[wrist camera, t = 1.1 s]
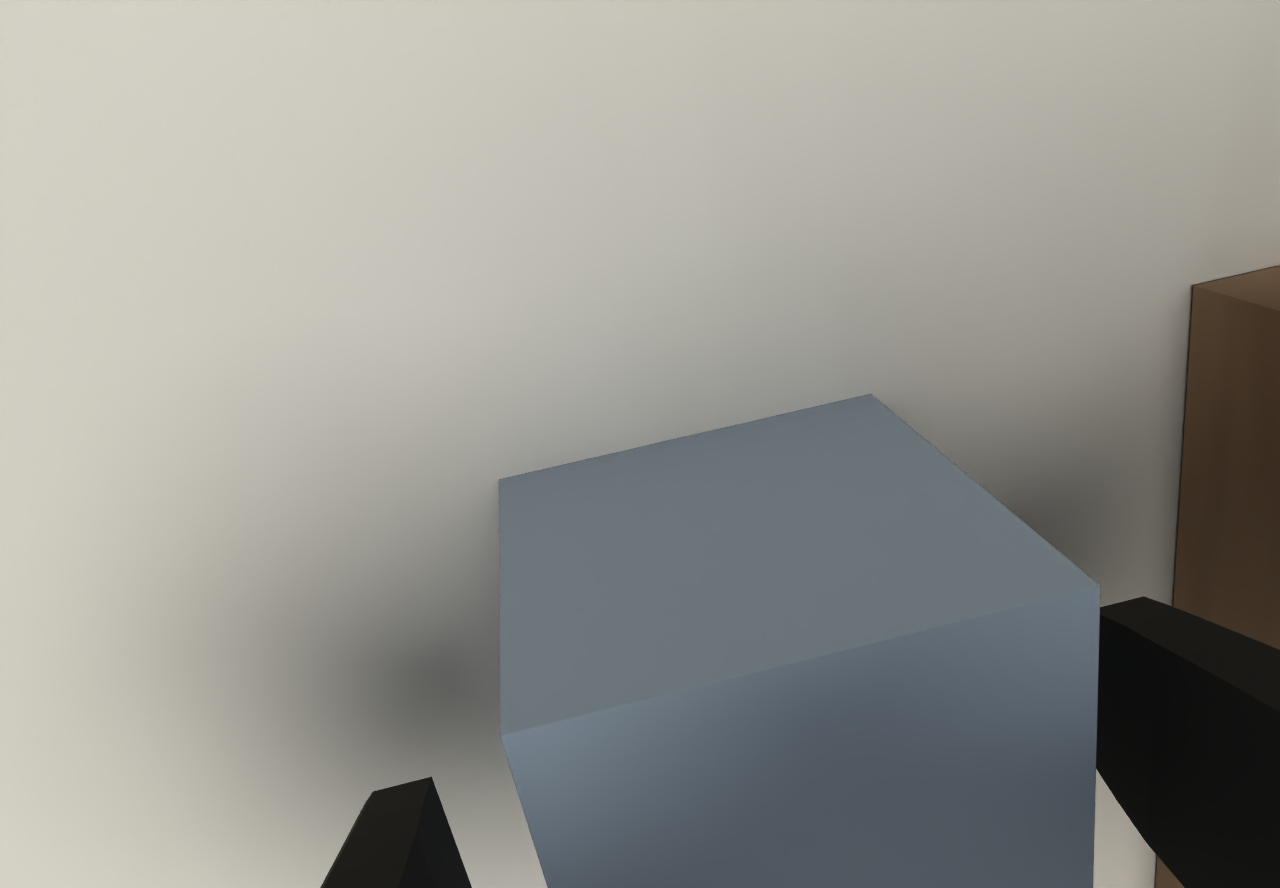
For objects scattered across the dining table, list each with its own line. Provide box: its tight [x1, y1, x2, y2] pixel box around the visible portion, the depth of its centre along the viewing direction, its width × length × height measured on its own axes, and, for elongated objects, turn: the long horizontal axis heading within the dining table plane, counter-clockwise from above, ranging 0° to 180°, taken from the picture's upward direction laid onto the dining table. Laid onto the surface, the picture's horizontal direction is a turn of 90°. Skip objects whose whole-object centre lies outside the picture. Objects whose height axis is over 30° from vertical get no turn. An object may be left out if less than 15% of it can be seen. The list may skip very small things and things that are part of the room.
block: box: [499, 394, 1100, 888], centre depth 10 cm, size 5×5×5 cm
